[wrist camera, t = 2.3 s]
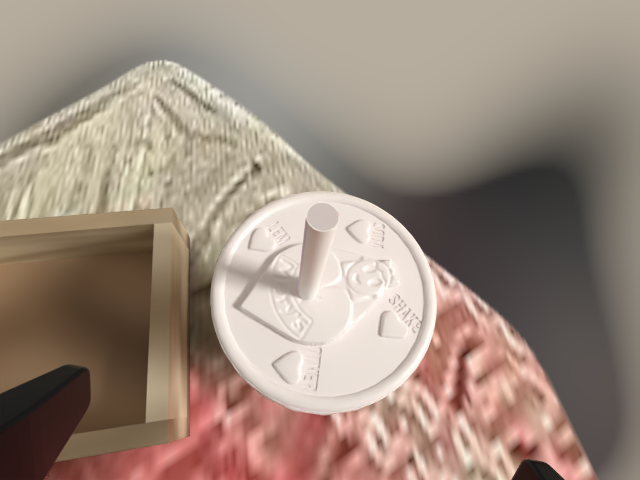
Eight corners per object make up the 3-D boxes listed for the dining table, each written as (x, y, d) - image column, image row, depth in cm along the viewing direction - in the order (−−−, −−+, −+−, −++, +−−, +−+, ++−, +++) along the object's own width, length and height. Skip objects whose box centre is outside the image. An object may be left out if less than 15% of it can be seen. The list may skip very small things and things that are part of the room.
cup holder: (189, 435, 16) (167, 443, 13) (-59, 476, 15) (-150, 496, 12) (189, 238, 20) (172, 207, 17) (-7, 255, 19) (-65, 226, 16)
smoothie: (234, 297, 19) (139, 92, 7) (347, 271, 21) (450, 56, 8) (257, 427, 17) (176, 497, 4) (384, 389, 18) (620, 354, 5)
